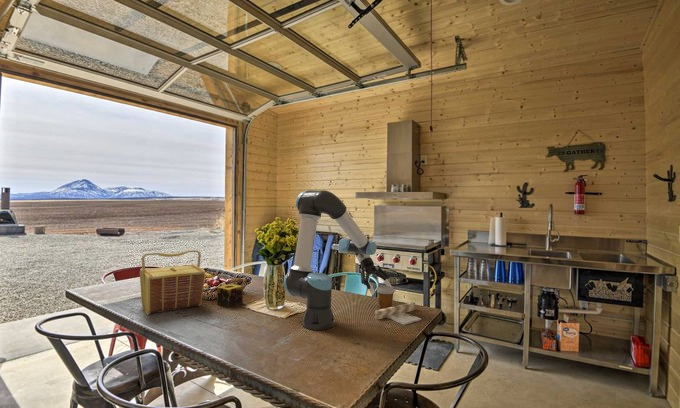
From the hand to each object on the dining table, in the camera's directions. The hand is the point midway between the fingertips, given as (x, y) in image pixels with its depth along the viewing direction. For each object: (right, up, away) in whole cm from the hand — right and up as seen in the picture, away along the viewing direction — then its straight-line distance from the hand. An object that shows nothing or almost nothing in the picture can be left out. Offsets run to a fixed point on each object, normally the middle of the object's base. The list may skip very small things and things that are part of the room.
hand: (382, 291), depth 181 cm
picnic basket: (-115, -7, -5) cm, 115 cm away
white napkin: (+8, -9, -18) cm, 21 cm away
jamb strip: (+6, -9, -10) cm, 15 cm away
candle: (-86, -8, +2) cm, 86 cm away
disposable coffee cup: (+1, -9, -4) cm, 10 cm away
